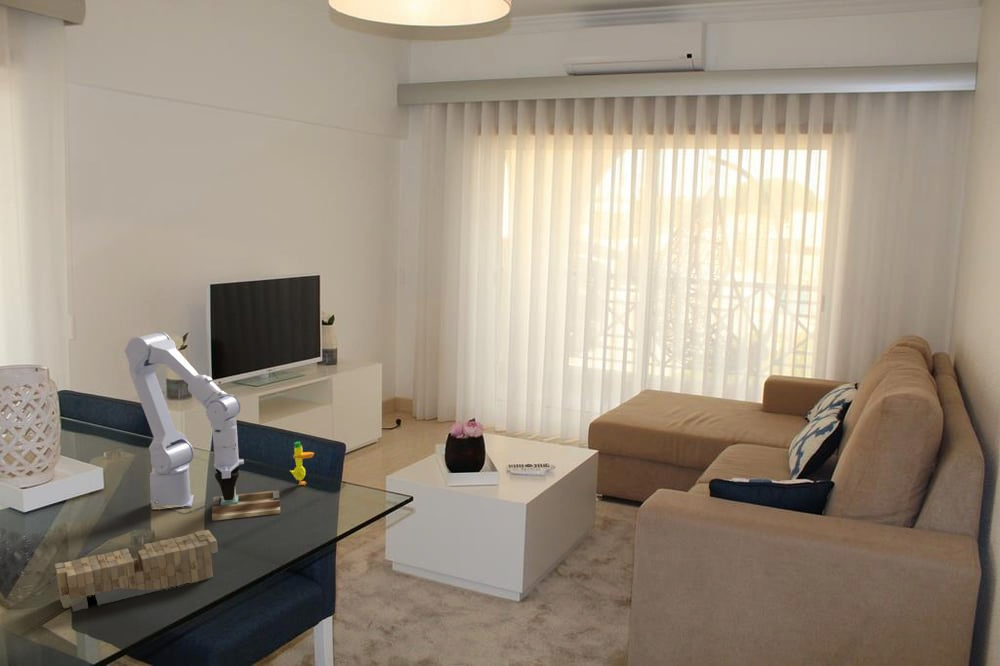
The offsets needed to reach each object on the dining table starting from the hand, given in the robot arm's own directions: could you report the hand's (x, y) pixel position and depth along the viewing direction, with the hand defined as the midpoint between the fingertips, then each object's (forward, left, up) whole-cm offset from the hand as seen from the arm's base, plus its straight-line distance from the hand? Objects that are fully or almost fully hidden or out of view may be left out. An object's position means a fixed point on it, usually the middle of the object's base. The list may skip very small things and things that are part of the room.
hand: (229, 497), depth 210 cm
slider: (0, 0, -2) cm, 2 cm away
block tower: (-16, -39, -4) cm, 42 cm away
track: (+4, 0, -3) cm, 5 cm away
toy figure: (+19, +14, -4) cm, 24 cm away
